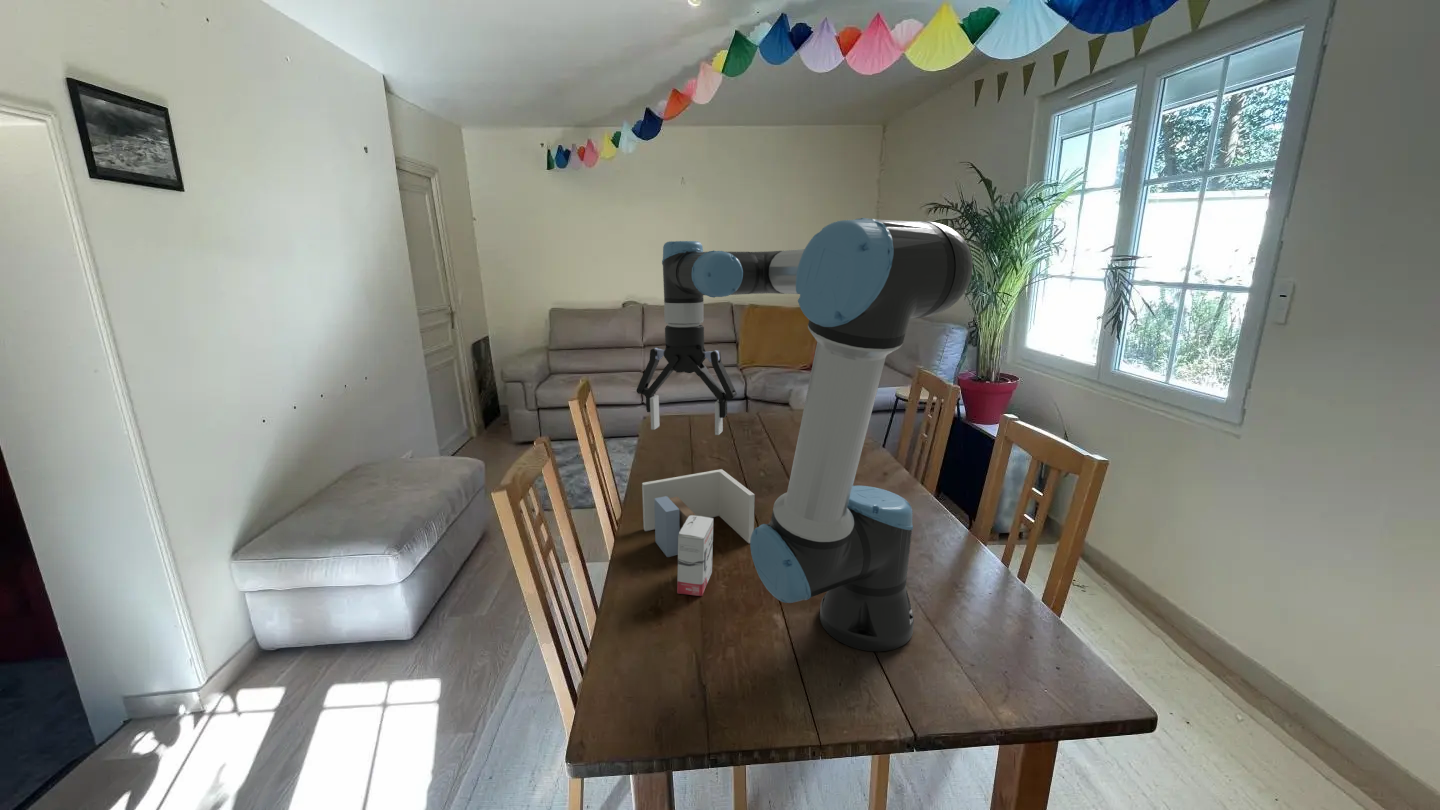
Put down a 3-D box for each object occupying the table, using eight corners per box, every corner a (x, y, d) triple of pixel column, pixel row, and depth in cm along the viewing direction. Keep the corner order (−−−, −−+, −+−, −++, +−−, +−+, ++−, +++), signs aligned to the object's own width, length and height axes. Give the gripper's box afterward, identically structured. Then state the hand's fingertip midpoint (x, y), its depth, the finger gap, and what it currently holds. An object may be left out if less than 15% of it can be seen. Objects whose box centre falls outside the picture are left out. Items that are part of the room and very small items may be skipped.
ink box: (703, 597, 105) (703, 537, 101) (676, 594, 106) (675, 534, 102) (714, 572, 113) (714, 515, 110) (688, 569, 114) (688, 513, 111)
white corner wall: (753, 542, 124) (754, 494, 121) (668, 562, 116) (667, 511, 113) (721, 512, 138) (721, 469, 135) (643, 528, 130) (642, 482, 127)
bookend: (696, 555, 119) (696, 515, 116) (687, 557, 118) (686, 517, 115) (678, 534, 127) (677, 496, 125) (669, 536, 126) (668, 498, 124)
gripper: (752, 324, 112) (751, 430, 117) (633, 320, 119) (637, 420, 125) (741, 328, 105) (741, 441, 110) (616, 324, 112) (621, 430, 118)
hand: (686, 430), depth 118 cm, fingers open, 13 cm apart
